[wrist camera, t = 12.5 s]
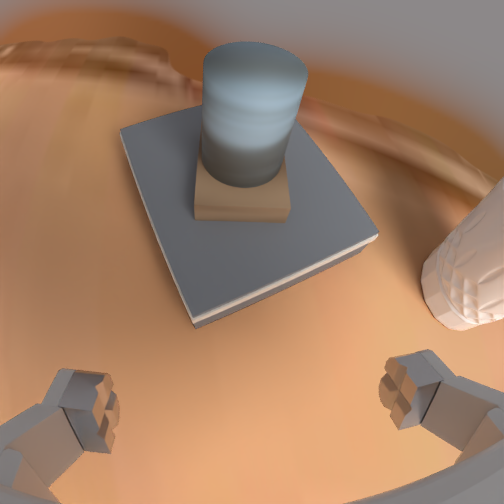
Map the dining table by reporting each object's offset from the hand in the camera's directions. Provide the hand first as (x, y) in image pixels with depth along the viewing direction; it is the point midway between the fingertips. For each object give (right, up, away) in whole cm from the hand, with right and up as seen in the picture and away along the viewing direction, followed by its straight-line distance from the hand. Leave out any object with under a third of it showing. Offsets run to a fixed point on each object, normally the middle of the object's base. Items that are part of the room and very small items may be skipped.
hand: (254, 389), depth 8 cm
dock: (-1, +7, +14) cm, 16 cm away
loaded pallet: (-1, +9, +11) cm, 14 cm away
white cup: (+15, +1, +13) cm, 20 cm away
